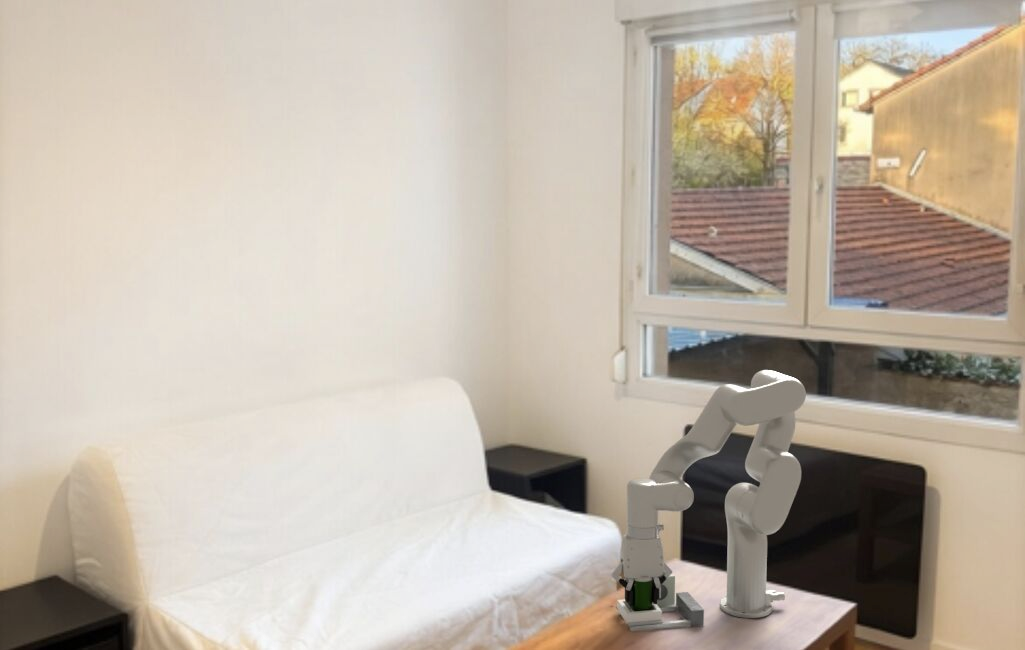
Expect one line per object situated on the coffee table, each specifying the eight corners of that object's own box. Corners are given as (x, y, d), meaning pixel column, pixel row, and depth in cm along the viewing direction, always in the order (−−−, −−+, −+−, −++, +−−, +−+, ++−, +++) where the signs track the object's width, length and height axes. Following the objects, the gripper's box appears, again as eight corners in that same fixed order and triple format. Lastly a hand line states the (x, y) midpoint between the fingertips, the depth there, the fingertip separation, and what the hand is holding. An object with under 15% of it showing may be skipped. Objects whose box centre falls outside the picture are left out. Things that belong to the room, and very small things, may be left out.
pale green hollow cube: (665, 595, 251) (665, 565, 250) (675, 607, 244) (675, 576, 243) (635, 598, 250) (635, 568, 249) (644, 610, 242) (644, 579, 241)
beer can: (640, 627, 232) (640, 579, 231) (625, 619, 237) (626, 572, 235) (657, 622, 235) (657, 574, 234) (642, 614, 240) (643, 567, 238)
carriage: (649, 605, 242) (649, 595, 241) (663, 623, 231) (663, 612, 231) (616, 607, 240) (616, 598, 240) (628, 626, 230) (628, 615, 229)
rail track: (687, 607, 244) (687, 592, 243) (703, 625, 233) (703, 609, 232) (618, 613, 241) (618, 597, 240) (631, 632, 230) (631, 616, 229)
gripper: (671, 523, 238) (670, 594, 241) (603, 528, 235) (603, 599, 238) (681, 533, 231) (680, 606, 233) (612, 538, 228) (611, 612, 230)
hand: (641, 602), depth 235 cm, fingers closed on beer can, 5 cm apart
